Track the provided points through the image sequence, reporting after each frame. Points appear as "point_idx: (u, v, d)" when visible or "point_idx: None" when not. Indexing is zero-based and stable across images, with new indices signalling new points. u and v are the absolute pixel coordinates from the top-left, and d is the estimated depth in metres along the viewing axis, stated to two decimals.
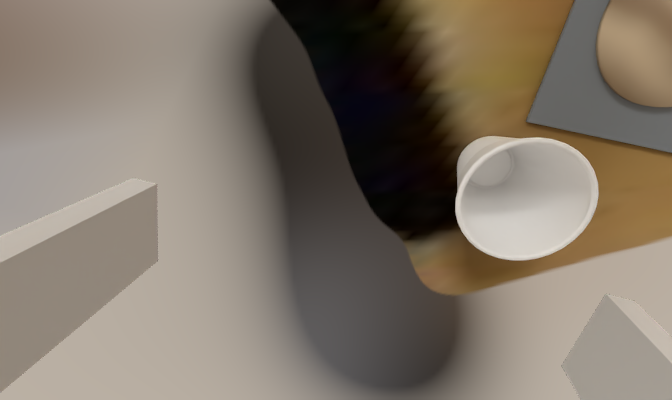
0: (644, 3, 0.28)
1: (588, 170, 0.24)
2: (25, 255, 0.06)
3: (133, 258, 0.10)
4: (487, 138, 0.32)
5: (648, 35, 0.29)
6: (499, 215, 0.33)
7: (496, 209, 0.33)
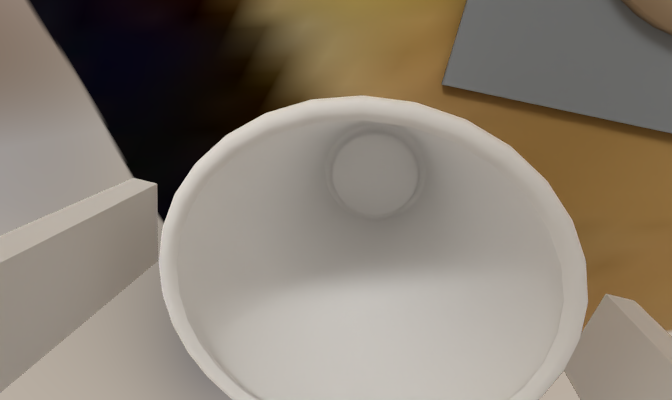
0: None
1: (550, 219, 0.07)
2: (25, 255, 0.06)
3: (133, 258, 0.10)
4: None
5: None
6: (376, 287, 0.15)
7: (377, 270, 0.16)
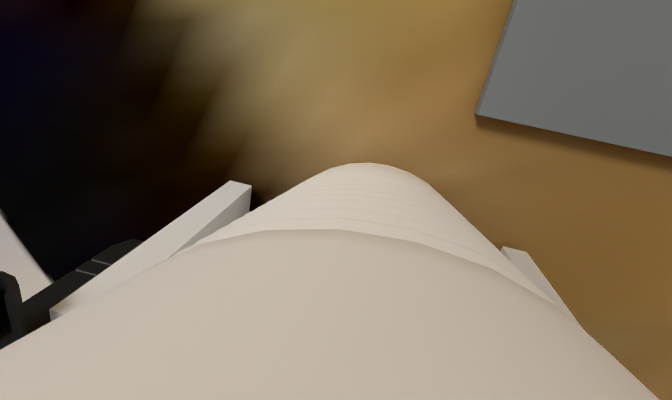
0: None
1: None
2: (184, 247, 0.08)
3: None
4: (319, 178, 0.08)
5: None
6: None
7: None
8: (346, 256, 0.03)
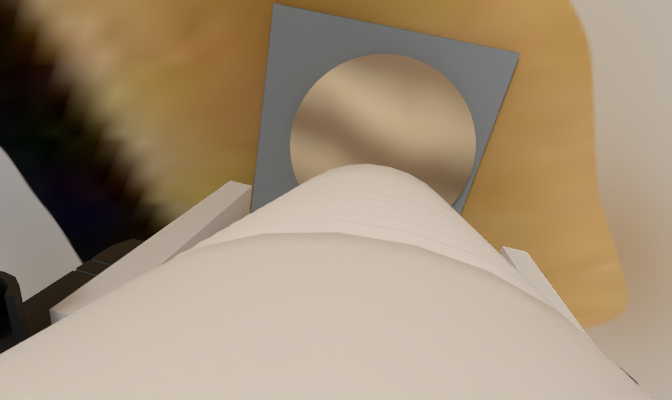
0: (326, 127, 0.24)
1: None
2: (185, 247, 0.08)
3: None
4: (319, 179, 0.08)
5: (340, 160, 0.25)
6: None
7: None
8: (345, 260, 0.03)
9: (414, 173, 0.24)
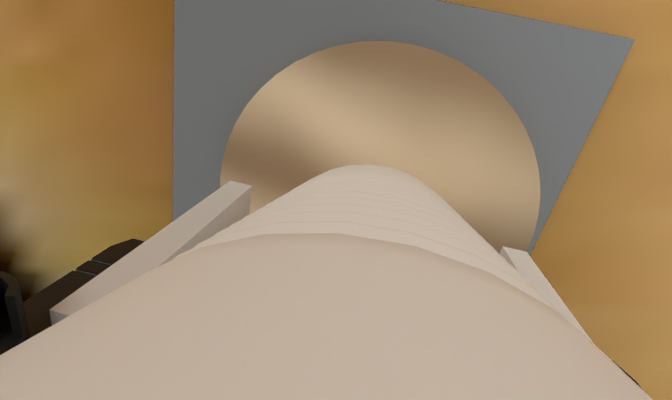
0: (279, 169, 0.14)
1: None
2: (185, 247, 0.08)
3: None
4: (319, 180, 0.08)
5: None
6: None
7: None
8: (345, 261, 0.03)
9: None
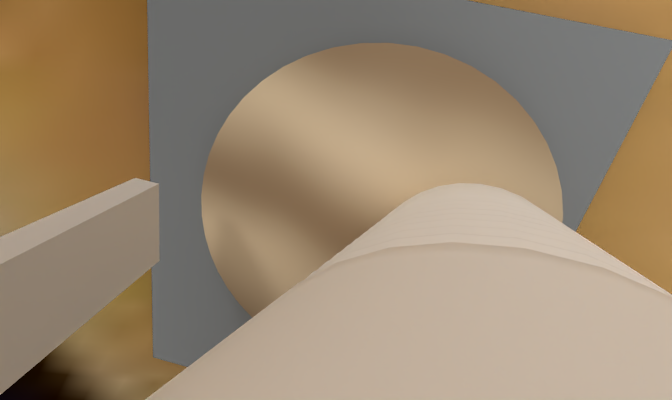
0: (266, 186, 0.13)
1: None
2: (29, 255, 0.07)
3: (135, 258, 0.10)
4: (439, 195, 0.09)
5: (295, 246, 0.13)
6: None
7: None
8: (558, 274, 0.03)
9: None
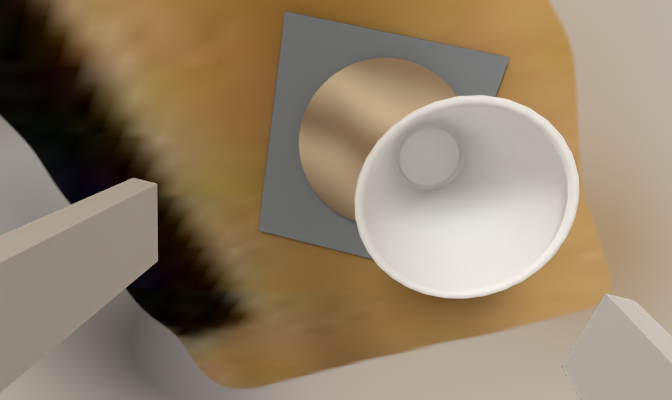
0: (332, 124, 0.26)
1: (563, 154, 0.14)
2: (25, 255, 0.06)
3: (133, 258, 0.10)
4: None
5: (345, 155, 0.27)
6: (438, 226, 0.23)
7: (436, 218, 0.23)
8: None
9: None
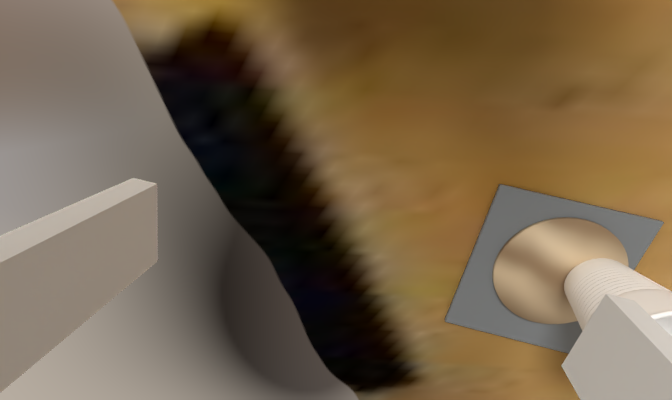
0: (524, 258, 0.37)
1: None
2: (25, 255, 0.06)
3: (133, 258, 0.10)
4: (607, 267, 0.33)
5: (529, 278, 0.37)
6: None
7: None
8: (667, 293, 0.27)
9: None
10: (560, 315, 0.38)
